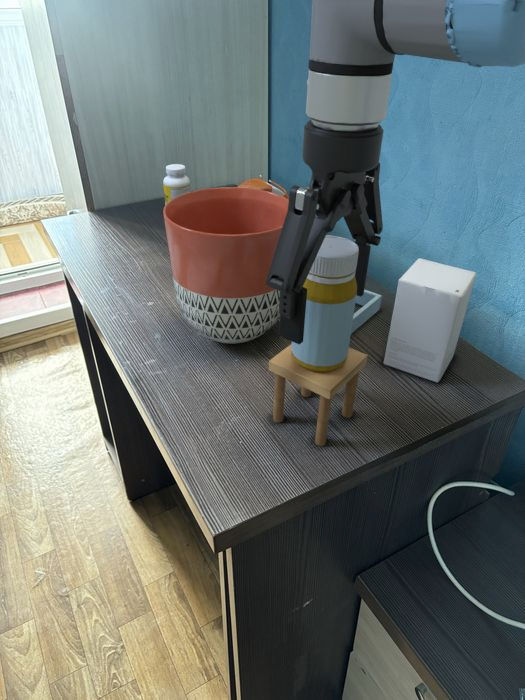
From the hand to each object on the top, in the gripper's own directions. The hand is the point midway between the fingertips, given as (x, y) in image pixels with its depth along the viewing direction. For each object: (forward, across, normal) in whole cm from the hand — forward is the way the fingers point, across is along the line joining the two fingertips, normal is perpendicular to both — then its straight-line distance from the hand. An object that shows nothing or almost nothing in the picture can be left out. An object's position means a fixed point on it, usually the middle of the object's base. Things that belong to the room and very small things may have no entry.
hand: (324, 314), depth 61 cm
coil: (+16, -38, -40) cm, 58 cm away
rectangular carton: (+17, -22, +6) cm, 28 cm away
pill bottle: (+16, -42, -68) cm, 82 cm away
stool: (+16, 0, 0) cm, 16 cm away
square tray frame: (+16, -26, -12) cm, 33 cm away
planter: (+17, -9, -22) cm, 29 cm away
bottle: (+7, 0, 0) cm, 7 cm away
